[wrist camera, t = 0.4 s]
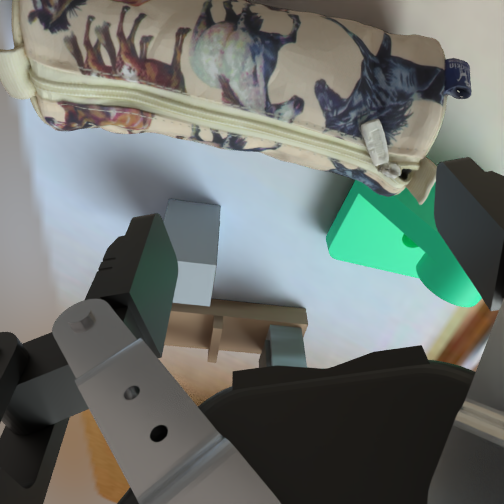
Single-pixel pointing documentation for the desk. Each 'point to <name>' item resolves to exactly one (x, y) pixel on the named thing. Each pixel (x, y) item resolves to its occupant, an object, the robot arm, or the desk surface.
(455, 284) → the camera mount
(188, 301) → the finger block
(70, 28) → the pencil case
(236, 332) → the rail
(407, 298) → the desk surface
